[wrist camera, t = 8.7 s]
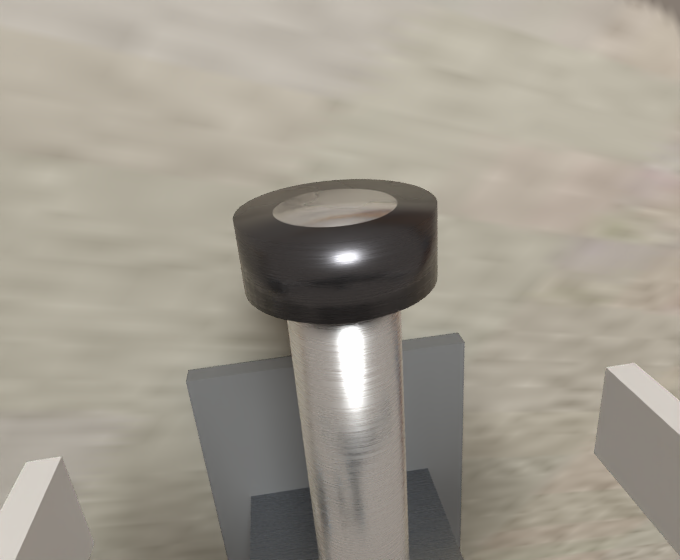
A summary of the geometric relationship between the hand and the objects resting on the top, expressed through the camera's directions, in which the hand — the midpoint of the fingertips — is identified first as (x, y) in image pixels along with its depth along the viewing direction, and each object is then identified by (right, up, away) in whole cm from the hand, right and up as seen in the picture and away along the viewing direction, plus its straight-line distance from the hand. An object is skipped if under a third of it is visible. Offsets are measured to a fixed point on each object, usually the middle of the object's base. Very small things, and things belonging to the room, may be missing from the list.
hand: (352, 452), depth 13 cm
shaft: (0, -4, +8) cm, 9 cm away
